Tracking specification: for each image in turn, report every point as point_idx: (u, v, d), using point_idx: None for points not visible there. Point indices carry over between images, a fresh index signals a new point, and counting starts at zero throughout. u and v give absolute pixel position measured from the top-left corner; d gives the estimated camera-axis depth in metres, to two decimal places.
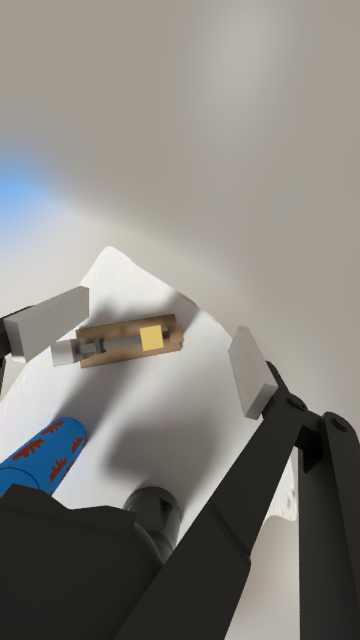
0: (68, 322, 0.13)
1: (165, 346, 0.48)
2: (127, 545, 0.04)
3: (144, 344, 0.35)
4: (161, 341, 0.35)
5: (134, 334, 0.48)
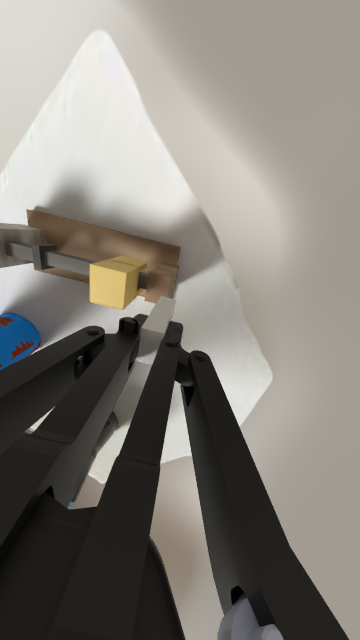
0: None
1: None
2: (127, 545, 0.04)
3: (93, 293, 0.21)
4: (121, 300, 0.21)
5: (111, 254, 0.31)
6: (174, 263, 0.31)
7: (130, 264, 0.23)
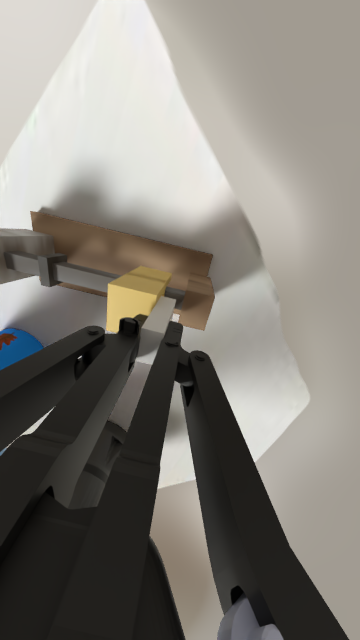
0: None
1: None
2: (127, 545, 0.04)
3: (111, 320, 0.16)
4: None
5: (130, 263, 0.27)
6: (205, 273, 0.26)
7: (155, 279, 0.19)
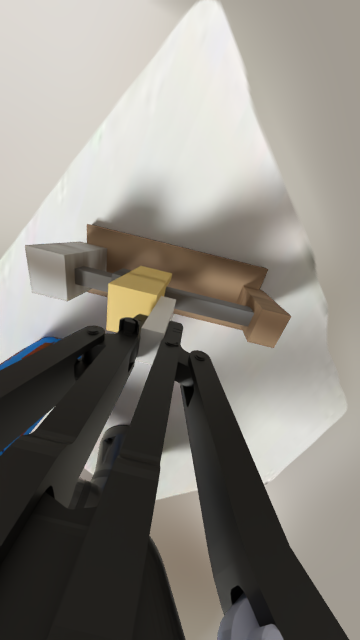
0: None
1: None
2: (127, 545, 0.04)
3: (111, 319, 0.16)
4: None
5: (183, 275, 0.27)
6: (258, 287, 0.26)
7: (155, 279, 0.19)
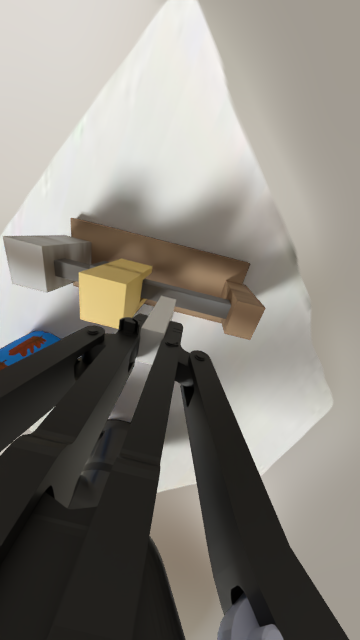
0: None
1: None
2: (127, 545, 0.04)
3: (84, 309, 0.16)
4: (120, 317, 0.16)
5: (166, 269, 0.27)
6: (240, 281, 0.27)
7: (132, 270, 0.19)
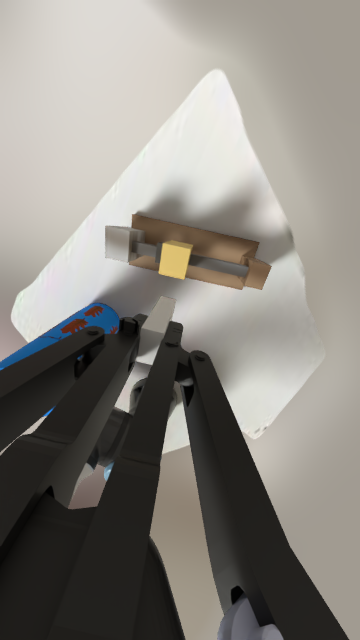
0: None
1: (227, 278, 0.40)
2: (127, 545, 0.04)
3: (162, 266, 0.27)
4: (184, 271, 0.27)
5: (199, 249, 0.37)
6: (252, 256, 0.37)
7: (185, 245, 0.29)
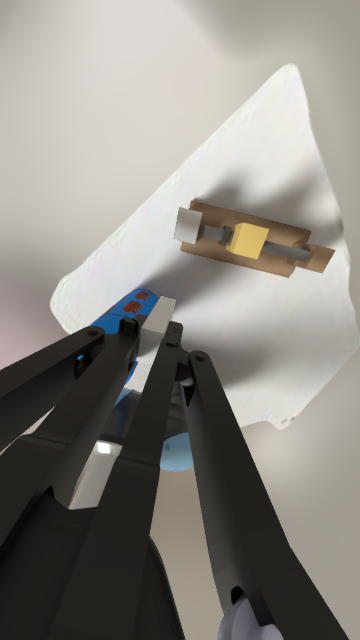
0: None
1: (276, 266, 0.41)
2: (127, 545, 0.04)
3: (238, 246, 0.28)
4: (258, 251, 0.28)
5: None
6: (303, 244, 0.39)
7: None
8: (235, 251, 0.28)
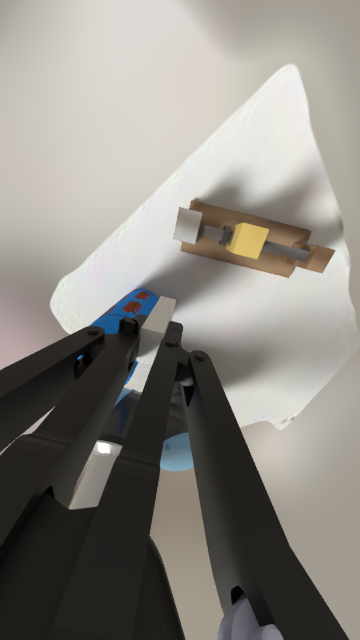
0: None
1: (276, 266, 0.41)
2: (127, 545, 0.04)
3: (238, 246, 0.28)
4: (258, 251, 0.28)
5: None
6: (303, 244, 0.39)
7: None
8: (235, 251, 0.28)
